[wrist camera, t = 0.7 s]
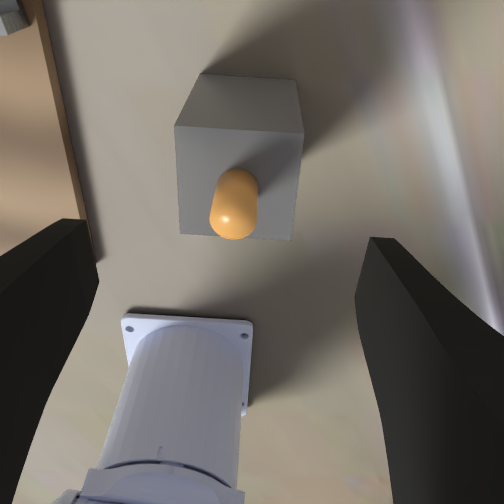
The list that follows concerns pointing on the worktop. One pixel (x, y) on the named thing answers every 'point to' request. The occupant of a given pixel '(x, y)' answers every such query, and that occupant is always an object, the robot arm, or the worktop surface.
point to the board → (33, 137)
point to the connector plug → (239, 157)
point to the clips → (12, 17)
